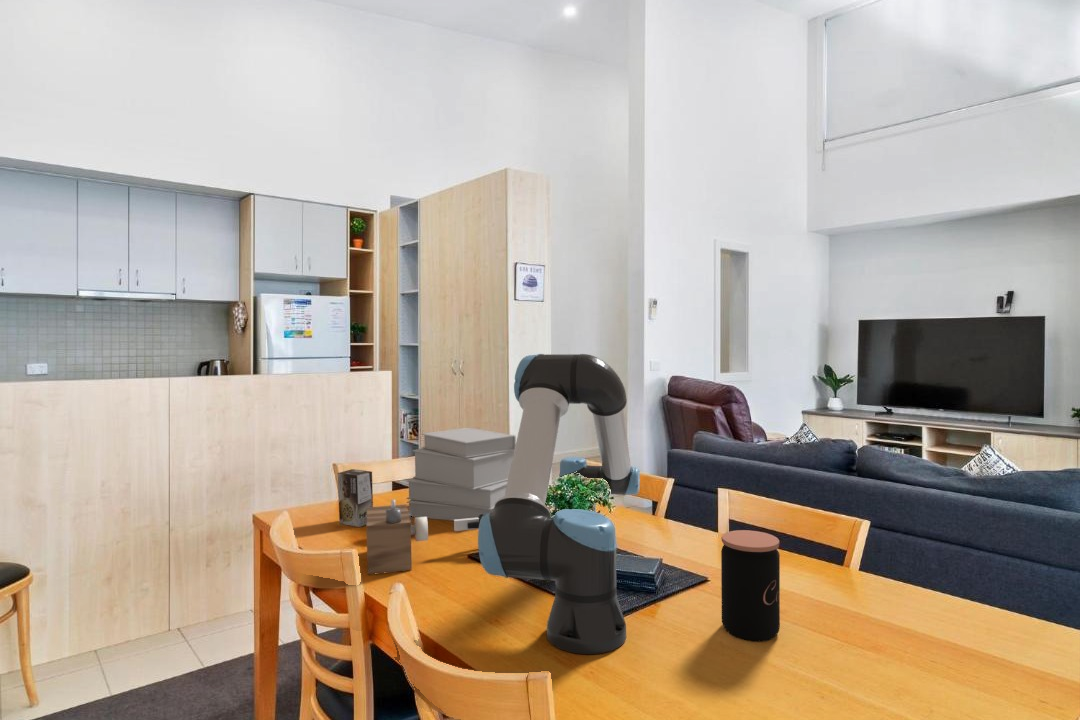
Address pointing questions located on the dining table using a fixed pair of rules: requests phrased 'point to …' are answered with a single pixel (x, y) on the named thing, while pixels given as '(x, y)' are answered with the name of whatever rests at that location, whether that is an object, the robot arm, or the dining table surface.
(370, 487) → the coffee box
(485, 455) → the book stack
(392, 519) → the potentiometer
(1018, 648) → the dining table surface
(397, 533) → the block
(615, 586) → the robot arm
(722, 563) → the coffee jar
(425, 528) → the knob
